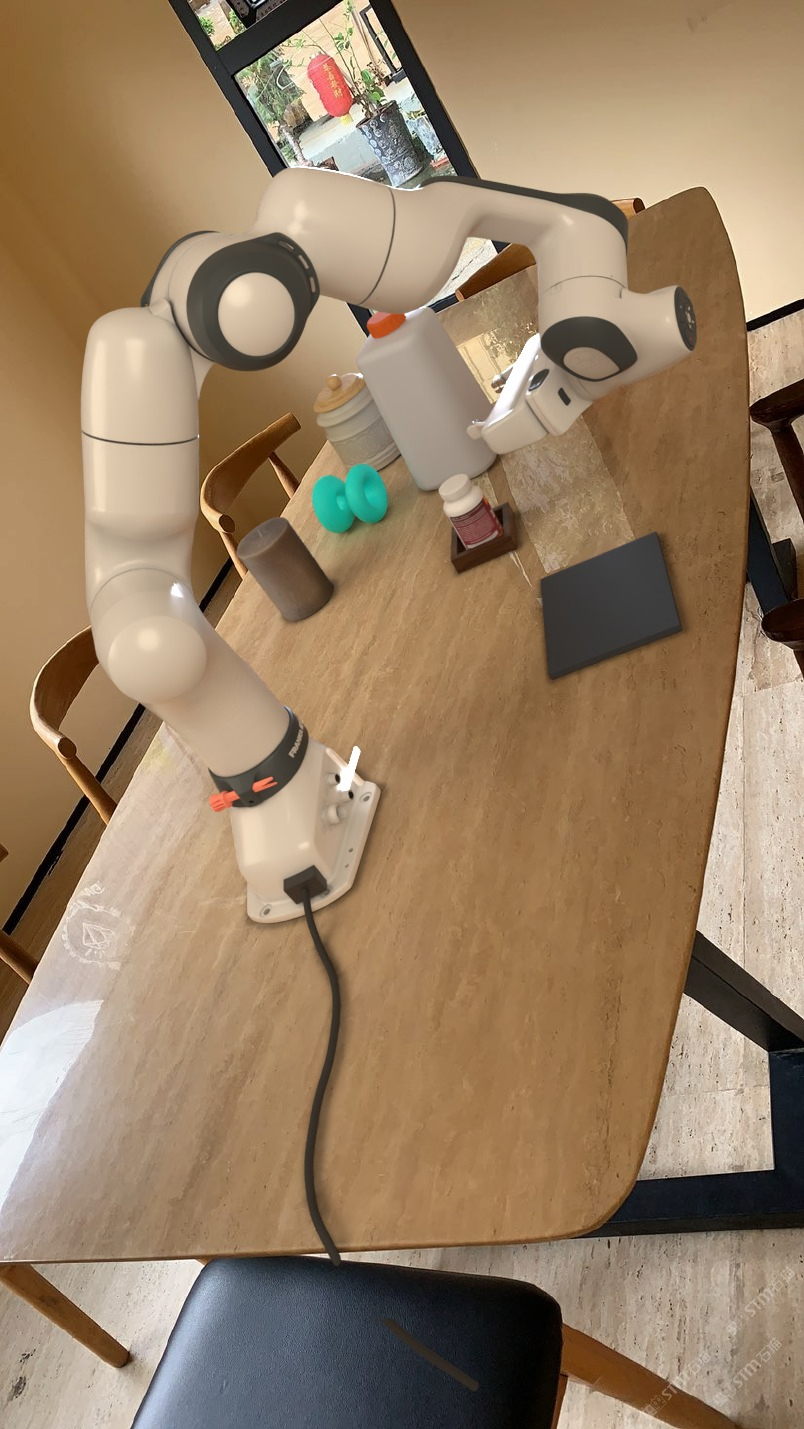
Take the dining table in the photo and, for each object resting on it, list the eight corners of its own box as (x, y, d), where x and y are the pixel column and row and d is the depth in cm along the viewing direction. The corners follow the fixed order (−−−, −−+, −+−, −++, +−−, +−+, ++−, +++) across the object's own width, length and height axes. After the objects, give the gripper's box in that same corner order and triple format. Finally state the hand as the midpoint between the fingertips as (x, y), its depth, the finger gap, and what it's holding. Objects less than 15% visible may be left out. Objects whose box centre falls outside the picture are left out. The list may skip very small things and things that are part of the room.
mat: (683, 630, 117) (680, 624, 117) (551, 679, 123) (548, 674, 122) (658, 536, 132) (656, 530, 132) (543, 584, 138) (540, 579, 138)
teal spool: (380, 532, 173) (349, 485, 168) (332, 546, 179) (301, 500, 173) (397, 497, 179) (368, 450, 174) (350, 511, 185) (321, 466, 179)
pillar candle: (341, 575, 169) (291, 502, 161) (324, 614, 163) (271, 540, 155) (294, 590, 174) (243, 520, 166) (275, 628, 168) (221, 557, 160)
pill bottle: (514, 534, 151) (480, 473, 145) (483, 561, 150) (448, 501, 144) (490, 526, 156) (457, 467, 150) (460, 552, 155) (426, 494, 149)
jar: (418, 444, 191) (370, 361, 181) (360, 486, 191) (309, 404, 181) (395, 428, 201) (349, 349, 192) (341, 467, 201) (291, 390, 192)
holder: (517, 548, 148) (510, 535, 146) (458, 574, 151) (450, 560, 150) (515, 514, 155) (508, 501, 153) (459, 539, 158) (451, 526, 157)
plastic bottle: (414, 499, 175) (327, 355, 160) (437, 449, 185) (357, 308, 169) (492, 475, 167) (409, 321, 152) (513, 423, 177) (436, 273, 161)
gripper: (581, 298, 128) (495, 341, 138) (530, 402, 118) (441, 440, 128) (607, 339, 131) (521, 378, 141) (560, 443, 121) (471, 477, 131)
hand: (483, 408), depth 134 cm, fingers open, 8 cm apart
